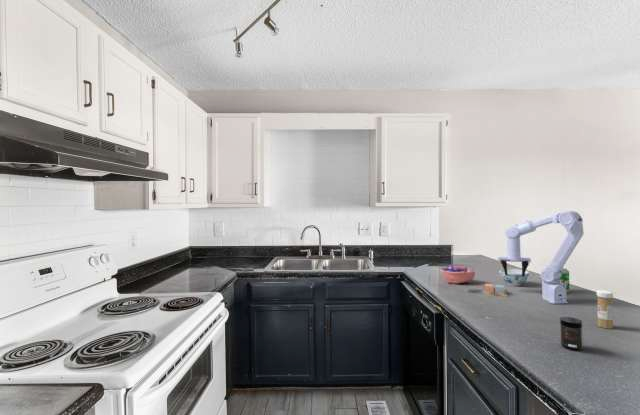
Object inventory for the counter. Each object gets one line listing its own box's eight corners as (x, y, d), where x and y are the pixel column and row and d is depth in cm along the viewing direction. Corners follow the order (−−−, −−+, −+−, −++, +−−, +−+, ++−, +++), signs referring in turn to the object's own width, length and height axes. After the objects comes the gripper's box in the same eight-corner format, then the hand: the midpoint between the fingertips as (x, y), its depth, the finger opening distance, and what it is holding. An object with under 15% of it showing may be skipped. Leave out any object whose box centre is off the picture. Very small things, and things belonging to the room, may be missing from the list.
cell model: (480, 287, 180) (479, 267, 180) (443, 286, 183) (442, 267, 183) (470, 280, 197) (470, 262, 197) (437, 279, 200) (436, 262, 200)
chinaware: (535, 287, 176) (535, 273, 176) (508, 288, 176) (508, 274, 176) (519, 281, 191) (518, 268, 191) (494, 281, 191) (493, 268, 191)
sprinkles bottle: (594, 324, 122) (593, 290, 122) (604, 324, 122) (604, 289, 122) (605, 329, 117) (605, 293, 117) (617, 328, 118) (616, 292, 117)
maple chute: (508, 292, 168) (508, 288, 168) (508, 299, 156) (508, 295, 156) (467, 288, 178) (467, 284, 178) (464, 294, 166) (464, 290, 166)
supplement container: (579, 345, 105) (579, 318, 105) (585, 352, 100) (585, 324, 100) (558, 342, 108) (557, 315, 108) (562, 349, 102) (562, 321, 102)
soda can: (553, 292, 166) (552, 269, 166) (550, 289, 172) (550, 267, 172) (571, 294, 162) (570, 270, 162) (567, 290, 169) (567, 268, 169)
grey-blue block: (504, 292, 165) (503, 285, 165) (504, 295, 160) (503, 287, 160) (495, 292, 167) (495, 284, 167) (495, 294, 162) (494, 286, 162)
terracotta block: (494, 291, 167) (493, 284, 167) (493, 294, 163) (493, 286, 163) (485, 291, 169) (485, 283, 169) (485, 293, 165) (484, 285, 165)
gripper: (528, 248, 166) (529, 274, 166) (497, 248, 172) (497, 273, 172) (531, 250, 160) (532, 277, 160) (498, 249, 166) (499, 275, 166)
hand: (514, 275), depth 166 cm, fingers open, 7 cm apart
